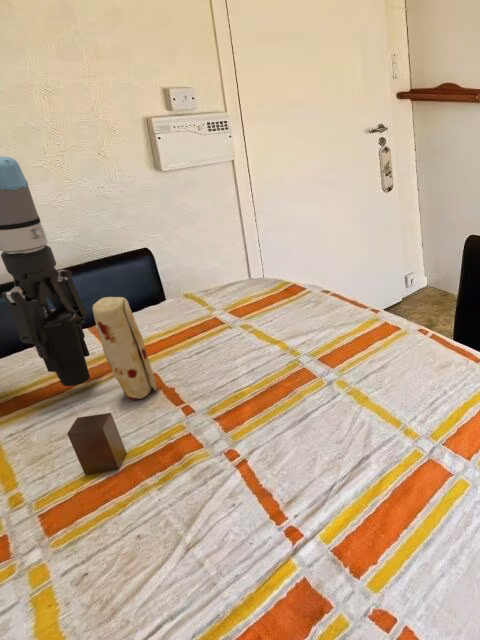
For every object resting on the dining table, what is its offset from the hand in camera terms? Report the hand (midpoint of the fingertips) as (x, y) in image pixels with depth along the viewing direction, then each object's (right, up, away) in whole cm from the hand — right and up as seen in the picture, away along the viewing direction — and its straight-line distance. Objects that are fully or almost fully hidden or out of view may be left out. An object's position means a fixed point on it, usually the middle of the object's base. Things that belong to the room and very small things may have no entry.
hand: (69, 362), depth 123 cm
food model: (+13, -6, +1) cm, 15 cm away
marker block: (+20, -17, -20) cm, 33 cm away
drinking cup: (0, -4, +2) cm, 4 cm away
